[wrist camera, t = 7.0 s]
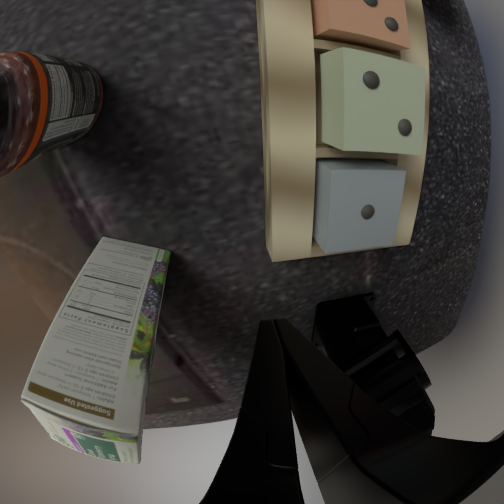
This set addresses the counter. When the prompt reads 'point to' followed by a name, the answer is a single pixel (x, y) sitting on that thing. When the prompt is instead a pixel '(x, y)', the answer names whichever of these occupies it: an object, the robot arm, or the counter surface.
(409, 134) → the tile two pip
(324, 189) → the single dot cube
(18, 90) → the supplement bottle
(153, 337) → the syrup box
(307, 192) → the tile tray
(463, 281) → the counter surface
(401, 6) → the tile three pip
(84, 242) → the counter surface
